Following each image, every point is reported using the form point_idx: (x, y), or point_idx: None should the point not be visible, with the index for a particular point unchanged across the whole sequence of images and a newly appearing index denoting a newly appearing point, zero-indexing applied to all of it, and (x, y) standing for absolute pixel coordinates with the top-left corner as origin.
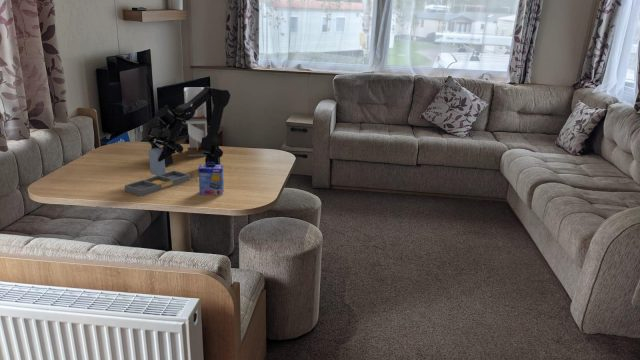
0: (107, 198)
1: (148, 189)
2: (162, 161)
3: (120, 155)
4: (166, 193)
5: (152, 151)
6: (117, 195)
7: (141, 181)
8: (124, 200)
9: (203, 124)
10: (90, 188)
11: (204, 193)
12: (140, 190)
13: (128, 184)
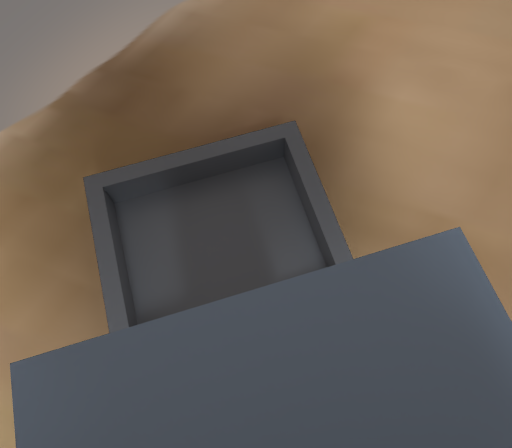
0: (215, 31)
1: (98, 251)
2: None
3: None
4: (11, 401)
5: (253, 296)
6: (232, 86)
7: None
8: (109, 92)
9: None
10: (467, 5)
11: None
12: (92, 176)
13: (301, 150)
